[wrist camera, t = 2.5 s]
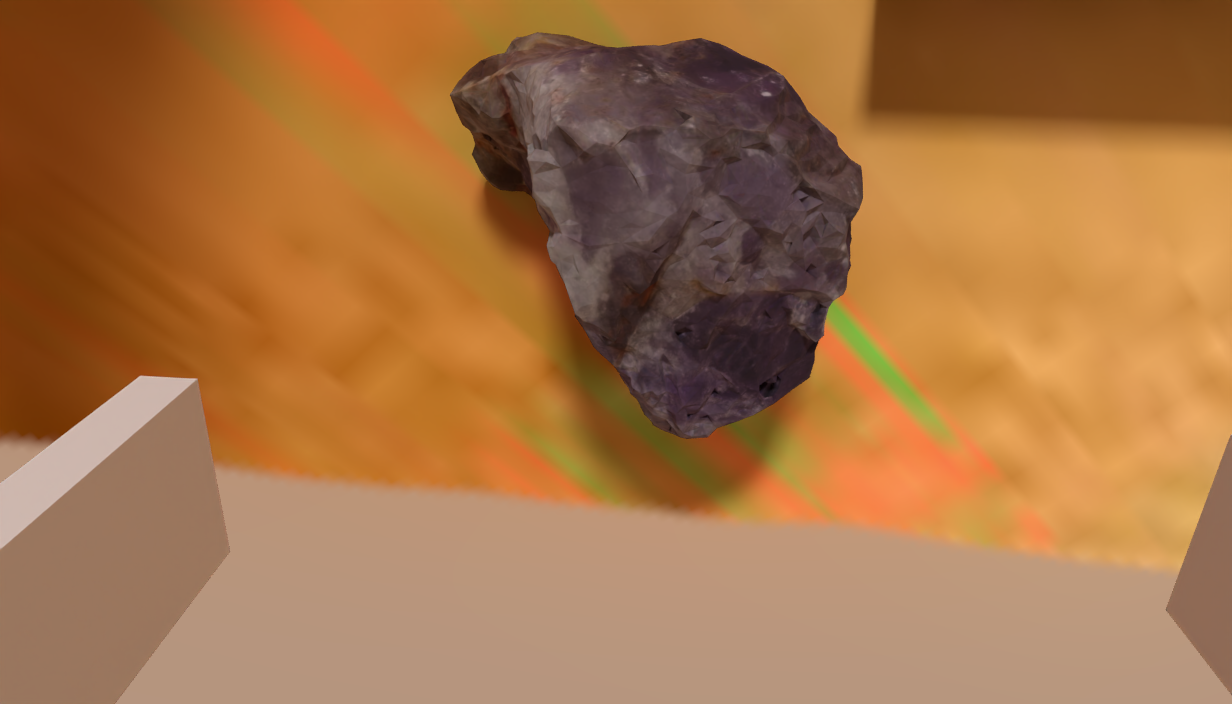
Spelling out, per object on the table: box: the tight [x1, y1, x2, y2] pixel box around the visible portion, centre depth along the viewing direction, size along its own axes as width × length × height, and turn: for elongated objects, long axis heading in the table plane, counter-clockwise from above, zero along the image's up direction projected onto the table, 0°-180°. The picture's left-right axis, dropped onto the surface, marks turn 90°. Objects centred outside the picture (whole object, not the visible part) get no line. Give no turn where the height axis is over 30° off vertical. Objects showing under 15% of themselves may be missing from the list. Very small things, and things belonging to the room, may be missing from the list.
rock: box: [450, 32, 863, 439], centre depth 24 cm, size 12×9×10 cm
